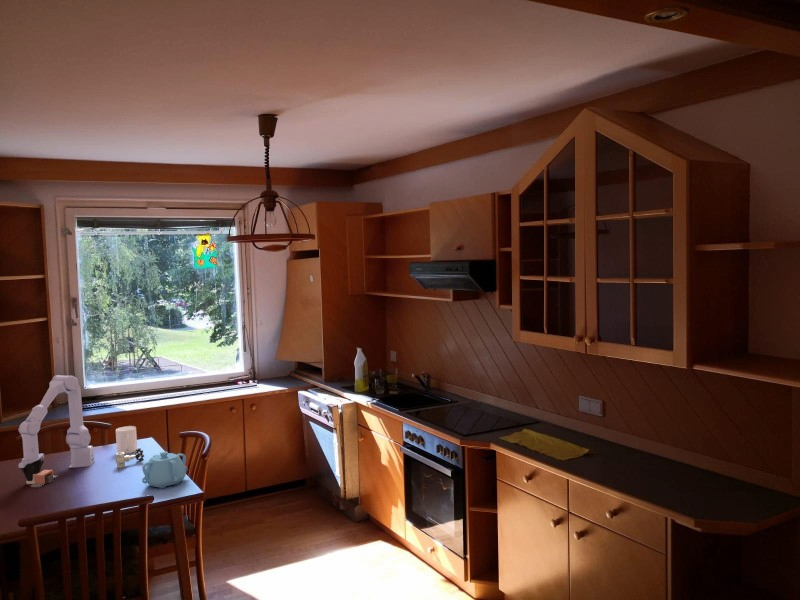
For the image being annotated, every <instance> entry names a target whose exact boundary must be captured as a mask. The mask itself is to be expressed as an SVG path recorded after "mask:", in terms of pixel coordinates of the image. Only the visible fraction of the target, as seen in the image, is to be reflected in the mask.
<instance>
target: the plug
mask: <svg viewBox="0 0 800 600" xmlns="http://www.w3.org/2000/svg"><path fill="white" fill-rule="evenodd" d="M34 475H36V474H33V480H32V481H27V479H26V478H25V479H26V485H32V484H34V483H35V477H34ZM53 476H54V474H53V475H47V476H45V484H50V482H51V483H53V482H54V480H53Z"/></svg>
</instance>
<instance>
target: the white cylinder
mask: <svg viewBox="0 0 800 600" xmlns="http://www.w3.org/2000/svg"><path fill="white" fill-rule="evenodd" d="M137 438H138V435H137V427H136V426H134V425H133V426H132V425H128V426H122V427H118V428H116V429H115V439H116V440H115V442H116V453H119V452H124V455H128V454H127V453H129V454H133V453H135V452H137V451H136V449H138V439H137ZM132 452H133V453H132Z"/></svg>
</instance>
